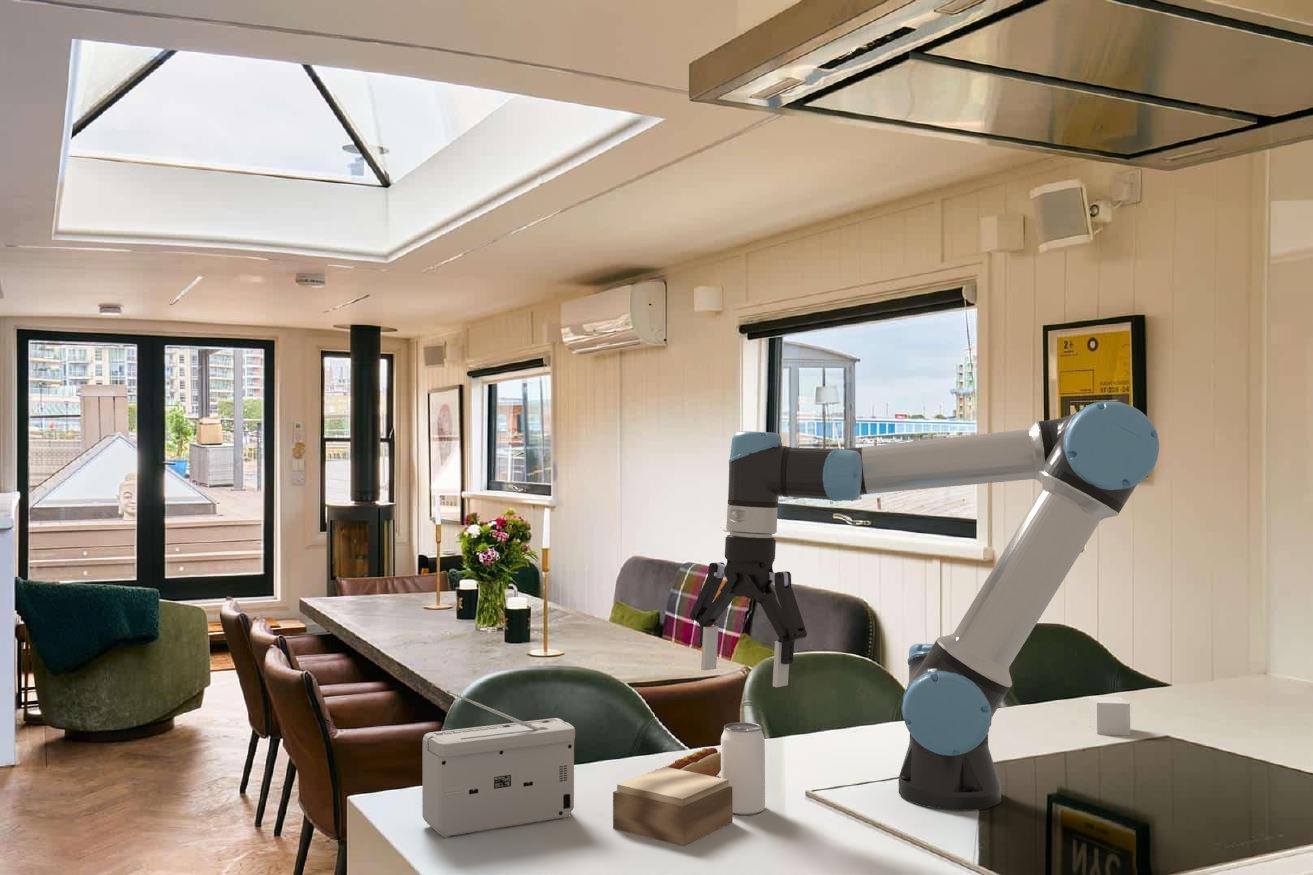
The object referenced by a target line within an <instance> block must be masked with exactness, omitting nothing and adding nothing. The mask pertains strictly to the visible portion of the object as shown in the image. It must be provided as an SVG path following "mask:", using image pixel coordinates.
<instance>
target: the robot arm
mask: <svg viewBox="0 0 1313 875" xmlns="http://www.w3.org/2000/svg"><path fill="white" fill-rule="evenodd" d="M1159 439H1160V438H1159V436H1158V432H1157V430H1156V428H1155V426H1154V424H1153V423H1152V421H1151V419H1150V418H1149V417H1147V415H1146V414H1144V413H1143V412H1142V411H1141V410H1140V409H1138V408H1136V407H1135V406H1132V405H1130V404H1127V403H1124V402H1122V401H1121V402H1120V401H1114V400H1102V401H1097V402H1093V403H1091V404H1088V405H1086V406H1084V407H1082V408H1081V409H1079V411H1077V412H1076V413H1073V414H1069V415H1067V416H1063V417H1059V418H1054V419H1047V420H1046V419H1045V420H1040V421H1039V420H1038V421H1035V422H1034V423H1033V424H1032V425H1031V426H1030V428H1026V429H1017V430H1008V431H1007V430H1006V431H1000V432H999V431H997V432H990V433H981V434H971V435H962V436H960V435H959V436H951V437H944V438H942V437H941V438H934V439H933V438H932V439H923V440H915V441H906V442H896V443H886V444H877V445H876V444H875V445H868V446H867V445H866V446H861V447H849V448H821V447H793V446H787V445H783V442H782V436H781V435H780V434H779V433H777V432H767V431H765V432H764V431H747V430H746V431H745V430H744V431H742V430H741V431H737V432H735V433H734V434H733V435H732V438H731V446H730V455H729V459H728V487H727V488H728V489H727V491H728V492H727V493H728V494H727V508H726V527H725V529H726V531H727V532H729V534H727V535H726V537H725V543H724V558H725V559H726V564H725V563H724V562H723V561H721V562H710V563H709V565H708V570H707V577H706V579H705V581H704V584H703V586H702V588H701V590H700V592H699V594H698V597H697V599H696V601H695V603H694V605H693V607H692V610H691V611H690V614H689V617H690V618H689V619H690V620H692V621H695V622H696V623H698V625H699V629H700V630H699V645H700V646H699V647H702V649H701V664H700V665H701V667H700V670H701V671H704V672H705V671H711V670H715V669H717V665H718V664H717V662H718V661H717V660H718V659H717V658H718V645H719V644H718V642H719V640H718V639H719V626H718V625H717V621H718V619H719V618H720V617H721V615H722V614H723V613H724V612H725V610H726V609H727V608H728V606H730V604H731V603H732V601H733V600H734V599H735V598H736V597H739V598H740V597H744V598H747V599H752V600H753V599H755V601H756V602H757V603H759V604H760V606H761V607H762V609H763V611H764V613H765V614H766V617H767V619H768V621H769V622H770V624H771V626H772V627H773V630H774V631H775V633H776V635H777V636H778V639H777V640H774V652H773V654H774V655H773V669H772V687H773V688H779V687H780V688H781V687H785V686H786V687H787V686H788V685H789V673H790V672H789V671H790V665H791V664H793V661H794V655H795V654H794V650H795V642H796V641H798V640H802V639H804V638H805V639H806V637H807V636H808V632H807V629H806V627H805V623H804V619H803V617H802V614H801V611H800V608H799V605H798V602H797V599H796V596H795V594H794V590H793V588H792V574H791V572H790V571H786V570H785V571H777V572H774V570H773V564H774V561H775V559H776V545H777V540H776V538H775V537H773V535H775V534H777V532H778V531H777V530H778V529H777V528H778V509H779V508H778V504H779V502H778V501H779V497H783V498H798V499H799V498H801V499H811V500H823V501H824V500H825V501H832V502H842V501H846V502H848V501H851V502H852V501H855V500H857V499H858V498H859V497H860V496H864V495H872V494H874V495H875V494H881V493H882V494H883V493H885V494H886V493H893V492H904V491H906V492H907V491H915V490H918V491H919V490H927V489H937V488H938V489H939V488H949V487H950V488H951V487H960V486H961V487H962V486H971V485H972V486H973V485H981V484H982V485H984V484H992V483H995V484H996V483H1004V482H1015V481H1017V482H1018V481H1027V480H1036V481H1037V482H1039V483H1040V484H1042V485H1041V486H1042V487H1041V489H1040V492H1039V493H1038V495H1037V497H1036V498H1035V500H1034V502H1033V503H1032V504H1031V507H1030V508H1029V510H1028V511H1027V513H1026V514H1025V516H1024V518H1023V520H1021V523H1020V524H1019V526H1018V527H1017V529H1016V531H1015V532H1014V534H1013V536H1012V538H1011V539H1010V541H1009V542H1008V544H1007V546H1006V547H1005V549H1004V550H1003V553H1002V554H1001V555H1000V557H999V558H998V560H997V561H996V564H995V565H994V567H993V568H992V570H991V572H989V575H988V577H987V578H986V580H985V581H984V583H983V585H982V586H981V587H980V590H979V591H978V593H977V594H976V596H975V598H974V600H973V601H972V603H970V606H969V608H968V609H967V610H966V613H965V614H964V615H963V618H962V619H961V621H960V622H959V623H958V626H957V627H956V629H955V631H953V633H951V634H948V635H944V636H943V635H942V636H940V637H937V638H936V640H935V642H934V643H914V644H912V645H911V646H910V647H909V650H908V658H907V665H908V683H907V686H906V689H905V690H904V693H903V695H902V699H901V713H902V717H903V721H904V724H905V727H906V728H907V731H908V732H909V742H908V743H909V744H908V747H907V750H906V752H905V756H904V759H903V763H902V766H901V769H900V771H899V775H898V794H899V796H900V797H901V798H903V799H904V800H906V801H908V802H911V803H913V804H915V805H919V806H924V807H927V808H933V809H940V810H951V811H975V810H984V809H989V808H993V807H995V806H997V805H998V804H1000V803H1001V801H1002V785H1001V781H1000V778H999V774H998V772H997V769H996V766H995V762H994V761H993V758H992V754H991V750H990V748H989V733H990V727H992V719H993V716H994V715H995V713H996V711H997V710H998V708H999V707H1000V705H1001V704H1002V702H1003V701H1004V699H1005V698H1006V695H1007V694H1008V693H1009V690H1010V689H1011V687H1012V686H1013V680H1012V677H1011V674H1010V667H1011V665H1012V663H1013V662H1014V661H1015V659H1016V657H1017V655H1018V654H1019V652H1020V651H1021V649H1022V648H1023V645H1025V643H1026V641H1027V639H1028V638H1029V637H1030V635H1031V633H1032V632H1033V630H1034V628H1036V625H1037V623H1038V622H1039V620H1040V618H1041V617H1042V615H1043V614H1044V613H1045V610H1046V609H1047V608H1048V606H1049V604H1050V602H1051V601H1052V599H1053V597H1054V596H1055V594H1056V593H1057V592H1058V590H1059V588H1060V586H1061V585H1062V583H1063V581H1064V580H1065V579H1066V577H1067V575H1068V573H1069V572H1070V571H1071V569H1072V567H1073V565H1074V564H1075V562H1076V560H1077V559H1078V557H1079V556H1080V554H1081V552H1082V551H1083V549H1084V548H1085V546H1086V544H1087V543H1088V542H1089V539H1090V538H1091V537H1092V535H1093V533H1094V532H1095V530H1096V529H1097V527H1098V525H1100V522H1101V521H1103V520H1105V519H1109V518H1112V517H1117V516H1118V515H1120V513H1121V511H1122V509H1123V508H1124V506H1125V504H1126V503H1127V502H1128V500H1129V499H1130V497H1131V495H1132V494H1133V492H1134V491H1135V489H1136V488H1137V486H1138V484H1140V483H1141V482H1143V481H1144V480H1146V478H1147V477H1149V475H1150V474H1151V473H1152V471H1154V468H1155V466H1156V464H1157V462H1158V458H1159V453H1160V441H1159ZM724 578H725V579H726V580H727V581H726V583H724V584H723V583H722V582H723V580H724ZM722 584H723V586H722V587H721V585H722ZM772 585H773V586H774V589H775V591H774V589H773V588H772ZM720 587H721V588H720ZM719 590H720V592H719V594H718V591H719ZM776 597H777V599H776ZM777 600H778V601H777Z"/></svg>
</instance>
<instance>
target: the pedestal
mask: <svg viewBox="0 0 1313 875" xmlns="http://www.w3.org/2000/svg"><path fill="white" fill-rule="evenodd" d="M733 815H734V814H733V810H732V786H728V779H723V778H721V777H717V776H716V777H713V776H708V775H703V774H698V773H693V772H689V771H684V770H679V769H674V768H669V767H665V766H663V767H660V768H657V769H655V770H652V771H649V772H646V773H644V774H641V775H638V776H636V777H633V778H631V779H628V780H626V781H623V782H620V783H617V784H616V790H615V791H612V828H613V829H614V830H618V831H623V832H626V833H630V834H635V835H638V836H642V837H646V838H650V839H654V840H658V841H661V842H666V843H669V844H674V845H678V846H681V847H684V846H688V844H690V843H693V842H695V841H697V840H699V839H702V838H704V837H705V836H707V835H710V834H711V833H714V832H715V830H716V831H718V830H720V829H722V828H724V827H726V826H727V825H730V824H733V823H734V822H733V820H734V819H733V817H734V816H733ZM723 826H724V827H723ZM721 827H722V828H721Z"/></svg>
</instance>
